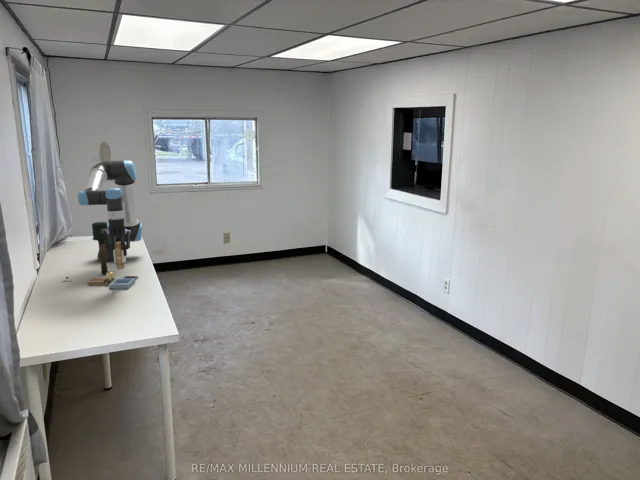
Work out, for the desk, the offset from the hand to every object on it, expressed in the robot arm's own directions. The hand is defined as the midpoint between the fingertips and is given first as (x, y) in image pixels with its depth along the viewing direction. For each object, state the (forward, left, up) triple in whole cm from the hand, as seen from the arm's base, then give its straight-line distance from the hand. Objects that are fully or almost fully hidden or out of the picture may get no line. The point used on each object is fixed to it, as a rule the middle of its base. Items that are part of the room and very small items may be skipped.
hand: (120, 261), depth 252 cm
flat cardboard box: (-5, -15, -14) cm, 21 cm away
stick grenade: (-21, -18, -14) cm, 31 cm away
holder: (-10, 0, -13) cm, 17 cm away
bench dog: (-5, -8, -13) cm, 16 cm away
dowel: (0, 0, -3) cm, 3 cm away
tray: (0, 0, -13) cm, 13 cm away
